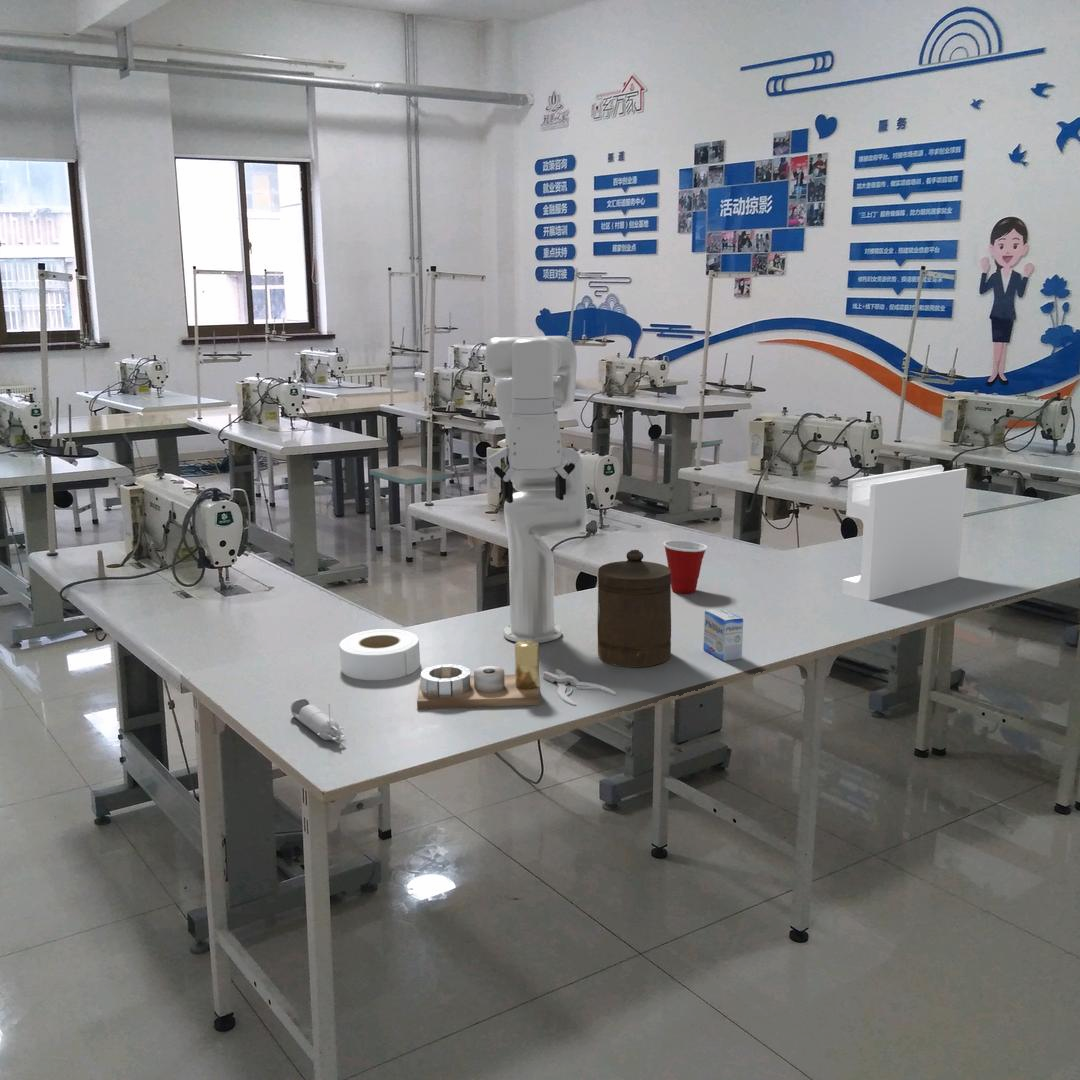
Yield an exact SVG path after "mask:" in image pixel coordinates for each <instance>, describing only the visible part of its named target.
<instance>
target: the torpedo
mask: <svg viewBox="0 0 1080 1080" xmlns="http://www.w3.org/2000/svg"><path fill="white" fill-rule="evenodd" d="M290 704H291V705H290V713H291V714H292V716H293V717H294V718H295V719H296V720H298V721H299V722H300V723H301V724H303V725H304V726H305V727H306V728H308V729H309V730H311V731H312V732H313V733H314V734H315V735H317V736H318V737H319V738H321V739H322V740H324V741H330V742H331V741H334V742H335V743H338V744H339V745H340V746H342V738H345V737H347V735H345V733H344V732H342V731H341V730H343V729H345V727H341V726H340V725H339V722H338V721H336V720H335V719H334V718H332V717H331V712H330V711H331V707H330V705H331V703H329V704H327V706H328V714H327V713H326V712H324V711H323V710H322V709H321V708H319V707H317V706H316V705H315V704H310V702H309V700H308V699H306V698H296V699H294V700H293V701H292V702H291V703H290Z"/></svg>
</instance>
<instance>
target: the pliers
mask: <svg viewBox="0 0 1080 1080" xmlns="http://www.w3.org/2000/svg"><path fill="white" fill-rule="evenodd" d="M543 679H545V681H546V680H547V681H549V682H551V683H556V686H557V696H558V697H559V698H560V699H561V700H562V701H563V702H565V703H566V704H569V705H570V706H574V707H575V706H577V703H576V702H574V701H573V700H572V699H570V697H569V696H570V695H571V694H572V692H573V687H570V689H569V691H568V692H566V691H567V686H566V685H567V684H570V685H572V686H574V687H576V689H578V690H586V691H587V690H599V691H602V692H604V693H608V694H609V695H612V696H617V692H616V691H614V690H613V689H611V688H609V687H607V686H604V685H600V684H597V683H593V682H586V681H579V680H578V679H577V678H576V677H575V676H573V675H570V674H569V675H568V674H566V672H564V671H562V670H561V669H559V668H558V669H557V668H556V669H555V673H552V672H549V671H543Z"/></svg>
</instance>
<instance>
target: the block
mask: <svg viewBox="0 0 1080 1080" xmlns="http://www.w3.org/2000/svg"><path fill="white" fill-rule="evenodd" d="M944 469H945V467H944V466H943V465H942V464H935V465H928V466H922V467H917V468H911V469H906V470H898V471H894V472H886V473H882V474H881V473H880V474H875V475H869V476H863V477H856V478H849V479H848V480H847V488H846V489H847V492H846V497H847V499H846V508H845V509H846V511H845V516H846V517H849V518H856V519H859V520H860V522H862V524H863V526H862V528H863V529H862V545H861V562H860V563H861V564H860V574H859V575H855V576H851V577H847V578H844V579H842V584H841V585H842V586H841V588H842V589H841V594H844V595H847V596H851V597H854V598H858V599H861V600H865V601H869V602H871V601H874V600H876V599H881V598H885V597H889V596H891V595H892V596H893V595H896V594H900V593H904V592H906V591H907V592H908V591H911V590H916V589H918V588H923V587H926V586H929V585H930V586H931V585H934V584H938V583H942V582H945V581H950V580H953V579H957V578H959V575H960V562H961V550H962V549H961V548H962V540H963V539H962V537H963V527H964V526H963V524H964V511H965V500H966V485H967V475H968V469H967V468H957V469H952V470H946V471H945V470H944Z"/></svg>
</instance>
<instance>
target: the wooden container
mask: <svg viewBox="0 0 1080 1080" xmlns="http://www.w3.org/2000/svg"><path fill="white" fill-rule="evenodd" d="M626 559H627V560H621V561H612V562H609V563H606V564H603V565H601V566H599V568H598V571H597V572H598V574H597V583H598V584H597V585H598V586H597V624H596V625H597V626H596V627H597V656H598V658H599V659H600V660H601V661H603V662H605V663H608V664H611V665H614V666H618V667H624V668H645V667H652V666H653V667H654V666H657V665H661V664H663V663H665V662H667V661H669V659H671V654H672V653H671V652H672V649H671V648H672V641H671V640H672V608H671V607H672V603H671V602H672V600H671V599H672V598H671V597H672V596H671V595H672V593H671V590H672V588H671V570H670V569H669V568H668V565H664V564H661V563H657V562H652V561H643V559H644V553H643V552H642V551H640V550H639V549H631V550H629V551H628V552H627V553H626Z"/></svg>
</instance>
